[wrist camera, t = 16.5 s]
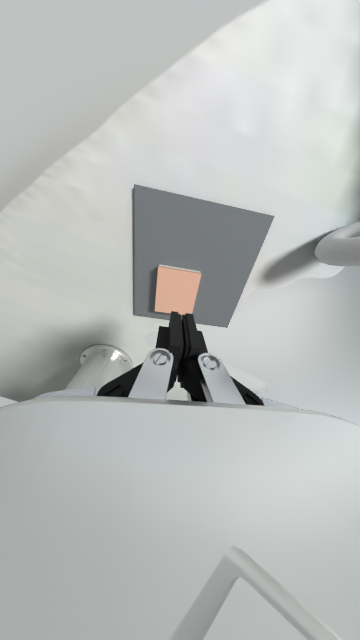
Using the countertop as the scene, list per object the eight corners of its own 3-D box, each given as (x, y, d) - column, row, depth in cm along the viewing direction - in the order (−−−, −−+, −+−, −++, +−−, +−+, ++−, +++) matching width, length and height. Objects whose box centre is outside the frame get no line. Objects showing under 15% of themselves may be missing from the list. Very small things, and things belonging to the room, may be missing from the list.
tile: (191, 316, 27) (154, 311, 26) (190, 311, 29) (156, 306, 28) (201, 274, 23) (158, 266, 22) (199, 271, 24) (159, 264, 24)
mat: (226, 326, 31) (227, 327, 31) (135, 313, 29) (134, 314, 29) (272, 216, 21) (274, 216, 20) (135, 185, 19) (134, 184, 18)
